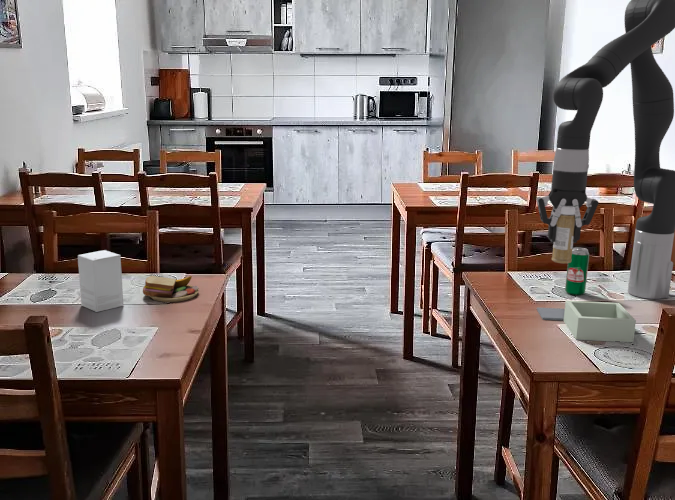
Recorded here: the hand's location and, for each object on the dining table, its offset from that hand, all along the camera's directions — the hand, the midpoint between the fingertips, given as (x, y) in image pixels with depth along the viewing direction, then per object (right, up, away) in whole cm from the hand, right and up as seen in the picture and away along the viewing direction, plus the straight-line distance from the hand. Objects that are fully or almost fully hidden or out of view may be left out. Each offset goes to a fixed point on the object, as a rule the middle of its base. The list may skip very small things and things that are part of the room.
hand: (563, 241), depth 162 cm
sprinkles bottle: (0, -5, +1) cm, 5 cm away
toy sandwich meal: (-95, -14, +13) cm, 96 cm away
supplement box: (-109, -16, +4) cm, 110 cm away
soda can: (+10, -14, +22) cm, 28 cm away
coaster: (0, -18, +4) cm, 18 cm away
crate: (+6, -20, -6) cm, 22 cm away
